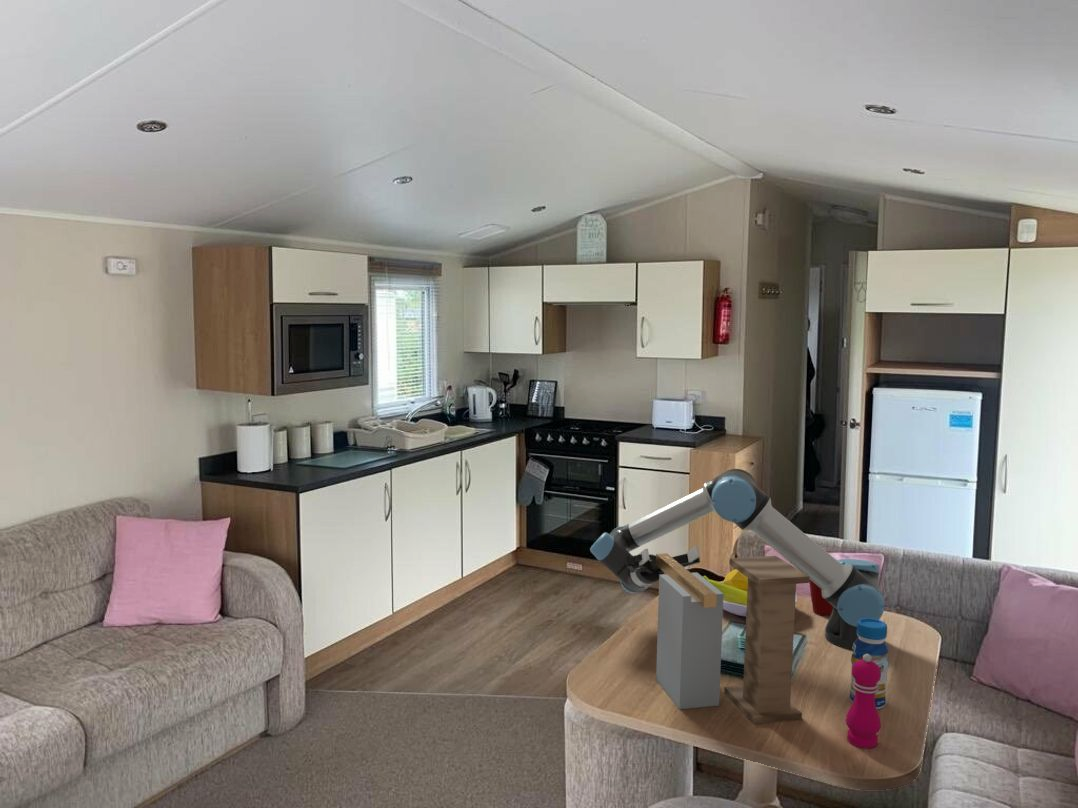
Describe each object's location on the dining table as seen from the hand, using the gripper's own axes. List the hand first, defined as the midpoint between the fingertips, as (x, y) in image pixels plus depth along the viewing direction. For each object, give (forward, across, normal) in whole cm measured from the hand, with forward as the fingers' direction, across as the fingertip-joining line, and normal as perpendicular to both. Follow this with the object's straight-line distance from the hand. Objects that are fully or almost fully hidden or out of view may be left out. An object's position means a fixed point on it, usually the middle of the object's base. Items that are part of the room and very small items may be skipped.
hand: (672, 552), depth 222 cm
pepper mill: (+20, -29, -48) cm, 60 cm away
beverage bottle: (+6, -41, -40) cm, 58 cm away
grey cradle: (-5, 0, -34) cm, 34 cm away
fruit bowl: (-48, -40, -9) cm, 63 cm away
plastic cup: (-43, -62, -12) cm, 77 cm away
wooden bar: (+4, 0, -9) cm, 10 cm away
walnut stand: (+3, -15, -38) cm, 41 cm away
